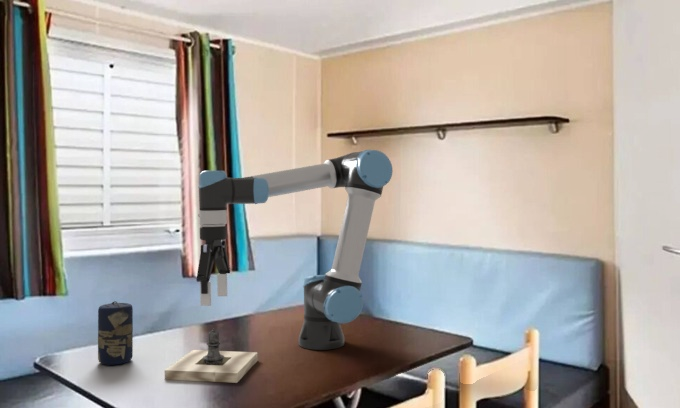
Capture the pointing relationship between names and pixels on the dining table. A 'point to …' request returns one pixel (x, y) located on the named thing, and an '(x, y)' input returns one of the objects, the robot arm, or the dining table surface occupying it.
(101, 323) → the canister
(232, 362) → the socket
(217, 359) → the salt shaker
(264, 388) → the dining table surface
